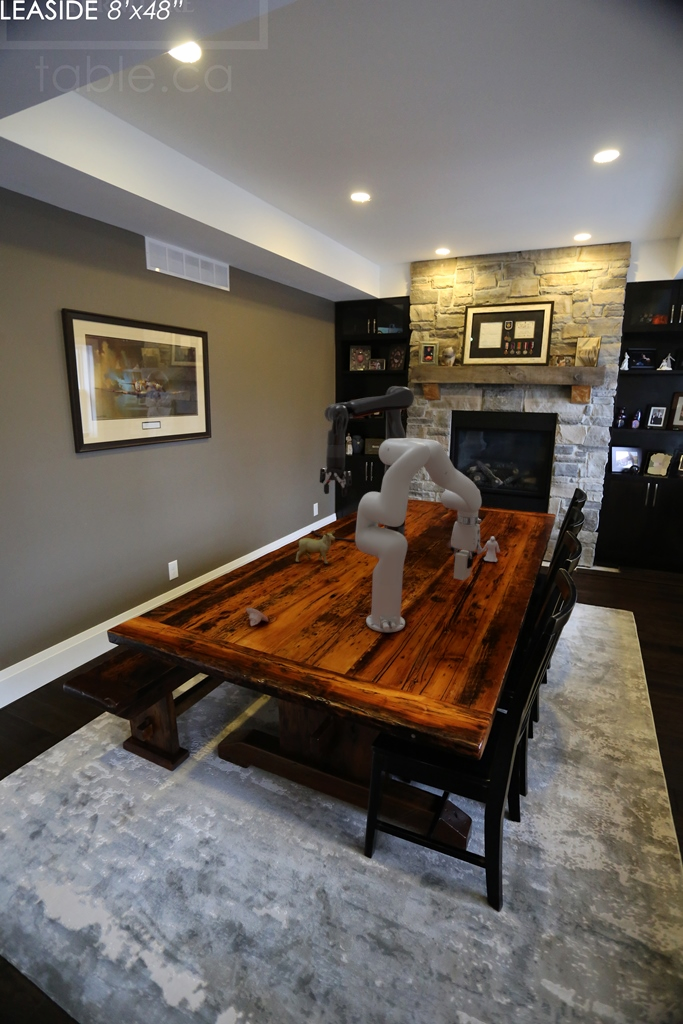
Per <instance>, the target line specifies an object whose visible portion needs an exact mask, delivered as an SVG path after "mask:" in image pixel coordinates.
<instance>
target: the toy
mask: <svg viewBox="0 0 683 1024" xmlns="http://www.w3.org/2000/svg"><path fill="white" fill-rule="evenodd" d="M335 533H336V531H335V530H333V531H330V532H324V533H323V537H321V539H314V538H310V537H303V538H301V539H299V541H298V543H297V545H298V548H299V550H298V551H297V552H296V556H295V563H300V560H299V559H300V556H301V555H302V554H304V556H306V557H307V560H309V561H310V560H312V557H311V555H310V554H319V555H318V559H317V560H318V561H319V562H322V561H323V562H324V564H325V565H327V566H328V565H329V562H328V561H327V554H328V553H329V551H330V549H331V545H332V541H333V542H334V541H335V540H336V539H335V536H334V535H333V534H335ZM309 553H310V554H309Z"/></svg>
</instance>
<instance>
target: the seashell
mask: <svg viewBox="0 0 683 1024" xmlns="http://www.w3.org/2000/svg"><path fill="white" fill-rule="evenodd" d="M245 611H246V614H248V615H249V616H248V619H249V625H250V626H251V627H253V626H256V625H258V624H259V623H260V622H261V621H265V622H269V618H268V616H267V615H266V614H264V613H263V612H261V611H260V610H259V609H256V608H253V607H245Z"/></svg>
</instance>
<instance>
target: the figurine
mask: <svg viewBox="0 0 683 1024" xmlns="http://www.w3.org/2000/svg"><path fill="white" fill-rule="evenodd" d="M482 550H483V552H486V554H485V556H484V557H483V560H484V561H485V562H495V563H498V558H497V554H496V553H498V554H499V553H501V550H500V547H499V543H498V541H497V540H496V538H495V536H493V535H492V536H490V539H489V540H487V542H486V543H485V544H484V546H483V548H482Z"/></svg>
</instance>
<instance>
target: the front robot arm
mask: <svg viewBox="0 0 683 1024" xmlns="http://www.w3.org/2000/svg"><path fill="white" fill-rule="evenodd" d="M378 457H379V459H380V461H381V462H382V463H383V464H384V465H385V464H387V465H391V467H390V468H389V469H388V470H387V472H386V473H385V472H384V474H385V475H383V478H382V482H381V487H380V488H381V489H380V491H379V492H378V491H369V492H367V493H365V494H364V495H363V496H362V497H361V499H360V501H359V503H358V507H357V514H356V525H355V536H354V540H355V542H354V543H355V546H356V549H357V550H358V551H360V552H361V553H363V554H366V555H369V556H372V557H375V558H377V559H378V562H377V563H376V564H375V566H374V568H373V570H372V585H371V586H372V587H371V607H370V609H371V613H370V615H368V616H367V617H366V621H365V622H366V623H365V624H366V625H367V627H368V628H369V629H372V630H373V631H376V632H379V633H396V632H398V631H402V630H403V629H404V628H405V626H406V620H405V618H403V617H402V615H401V614H402V599H403V598H402V597H403V580H404V579H403V577H404V566H405V559H406V557H407V552H408V546H409V544H408V540H407V537H404V536H403V535H402V534H401V533H399V532H396V531H393V530H390V529H386V528H385V527H382V526H379V524H381V525H384V526H385V525H388V526H393V527H397V526H400V525H402V524H403V523H404V521H405V522H406V518H407V511H408V505H409V504H408V503H409V494H410V487H411V483H412V480H413V479H414V477H415V475H416V474H417V473H418V472H419V471H420V470H421V469H422V468H423V467H424V469H425V470H426V473H427V474H428V475H429V477H430V479H431V480H432V481H431V482H433V483H434V484H435V485H437V486H438V487H440V488H442V489H443V490H444V491H443V492H442V494H441V496H440V501H441V502H440V503H441V504H442V505H443V507H445V508H447V509H450V510H454V511H457V513H456V514H457V515H456V521H455V522H454V524H453V528H452V531H451V532H452V533H451V538H450V540H449V541H448V542H447V543H446V547H448V549H450V551H451V552H452V555H453V563H454V564H455V555H456V553H458V552H459V551H461V550H467V551H469V558H468V562H467V568H468V569H469V568H470V567H471V568H472V567H473V565H474V558H475V557H476V556H478V555H480V554H483V553H484V551H483V548H482V546H481V528H480V527H481V525H480V524H479V523H482V518H479V510H480V509H481V507H482V503H483V501H482V496H481V491H480V489H479V488H478V487H477V485H476V484H475V482H474V481H472V479H470V478H469V477H468V476H466V475H465V474H463V472H461V471H459V470H458V469H457V468H455V466H454V464H453V462H452V461H451V459H450V457H449V455H448V453H447V452H446V449H445V448H444V446H443V445H442V443H440V441H437V440H434V439H429V438H420V437H419V438H418V437H406V438H401V439H387V440H386V439H385V440H384V441H382V443H381V444H380V445H379V449H378Z"/></svg>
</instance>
